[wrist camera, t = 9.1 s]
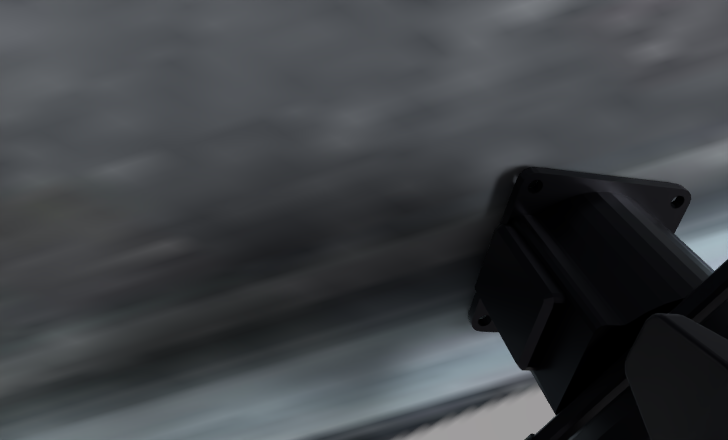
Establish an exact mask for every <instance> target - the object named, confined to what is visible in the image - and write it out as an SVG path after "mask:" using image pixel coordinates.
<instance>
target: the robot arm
mask: <svg viewBox="0 0 728 440" xmlns="http://www.w3.org/2000/svg"><path fill="white" fill-rule="evenodd" d="M534 180H538V181H537V183H536V185H535V186H533V187H531V188H528V185H529V184H530V182H532V181H534ZM675 197H677V198H676V199H675V200H674V201H673V202H671V201H672V200H673V199H674V198H675ZM690 200H691V194H690V193H689V191H688V190H686V189H685V188H684V187H683V186H681V185H679V184H674V183H665V182H657V181H648V180H640V179H631V178H623V177H614V176H606V175H597V174H589V173H580V172H572V171H563V170H555V169H546V168H538V167H532V168H528V169H526V170H524V171H523V172H522V173H520V174H519V176H518V178H517V180H516V183H515V185H514V188H513V191H512V194H511V196H510V199H509V202H508V205H507V208H506V210H505V213H504V216H503V219H502V221H501V224H500V225H499V227H498V228H497V229H496V230H495V232H494V234H493V237H492V240H491V243H490V246H489V248H488V251H487V254H486V257H485V259H484V262H483V265H482V268H481V271H480V273H479V276H478V279H477V282H476V285H475V290H476V293H475V296H474V299H473V302H472V305H471V307H470V310H469V313H468V319H469V321H470V323H471V325H472V327H473V328H474V329H475V330H476V331H481V332H499V333H500V335H501V337H502V339H503V340H504V342H505V344H506V346H507V348H508V350H509V351H510V353H511V355H512V357H513V359H514V360H515V362H516V364H517V365H518V366H519V368H520V369H521V370H529V371H531V373H532V374H533V376H534V378H535V380H536V381H537V383H538V385H539V387H540V388H541V390H542V392H543V393H544V395H545V397H546V399H547V401H548V402H549V404H550V406H551V408H552V409H553V411H554V413H555V414H556V416H555V417H554V418H553V419H552V420H551V421H549V422H548V423H547V424H546V425H545V426H544V427H543V428H542V429H541V430H540V431H538V432H537V433H536V434H530V435H529V436H528V437H527V438H526V439H525V440H728V259H727V260H726V261H725V262H724V263H723V264H722V265H721V266H720V267H719V268H718V269H716V270H715V271H714V270H713V269H712V268H711V267H710V266H708V265H707V264H706V263H705V262H704V261H703V260H702V259H701V258H700V257H699V256H698V255H697V254H695V253H694V252H693V251H692V250H691V249H690V248H689V247H688V246H687V245H686V244H685V243H684V242H682V241H681V240H680V239H679V238H678V237H677V236H676V235H675V234H674V233H675V231H676V229H677V227H678V225H679V223H680V221H681V219H682V217H683V215H684V213H685V211H686V209H687V208H688V206H689V204H690ZM484 315H486V317H484V318H483V319H479V318H480V317H482V316H484Z"/></svg>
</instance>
